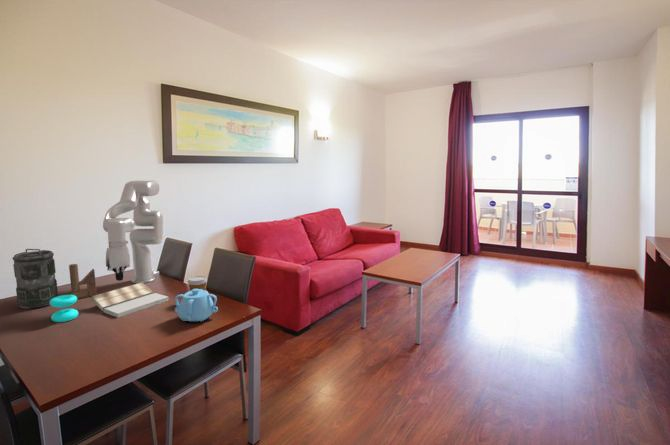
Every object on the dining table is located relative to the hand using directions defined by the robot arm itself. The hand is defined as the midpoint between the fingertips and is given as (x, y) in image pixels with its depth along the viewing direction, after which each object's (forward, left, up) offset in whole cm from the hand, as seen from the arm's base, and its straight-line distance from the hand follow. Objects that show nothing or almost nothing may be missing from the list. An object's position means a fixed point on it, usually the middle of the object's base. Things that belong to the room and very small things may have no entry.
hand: (119, 280), depth 188 cm
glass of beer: (-22, +32, -12) cm, 40 cm away
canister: (+23, -31, -12) cm, 40 cm away
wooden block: (+6, -23, -12) cm, 26 cm away
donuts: (+25, 0, -12) cm, 28 cm away
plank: (-1, +1, -9) cm, 9 cm away
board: (-1, +13, -11) cm, 17 cm away
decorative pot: (-7, +49, -12) cm, 51 cm away
